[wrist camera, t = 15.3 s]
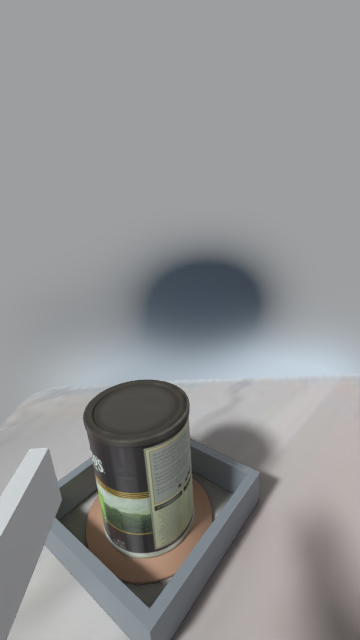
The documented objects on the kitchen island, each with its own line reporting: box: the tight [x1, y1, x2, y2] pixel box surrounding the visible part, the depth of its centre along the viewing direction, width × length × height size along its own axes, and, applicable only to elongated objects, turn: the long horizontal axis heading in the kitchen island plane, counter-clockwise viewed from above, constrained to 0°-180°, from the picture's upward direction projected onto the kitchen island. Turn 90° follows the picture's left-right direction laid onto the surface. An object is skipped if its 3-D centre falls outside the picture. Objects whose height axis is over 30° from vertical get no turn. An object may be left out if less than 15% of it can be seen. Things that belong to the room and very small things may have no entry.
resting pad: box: [86, 477, 212, 584], centre depth 36 cm, size 14×14×1 cm
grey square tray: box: [45, 439, 260, 640], centre depth 35 cm, size 18×18×4 cm
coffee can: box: [83, 380, 195, 558], centre depth 34 cm, size 10×10×14 cm
